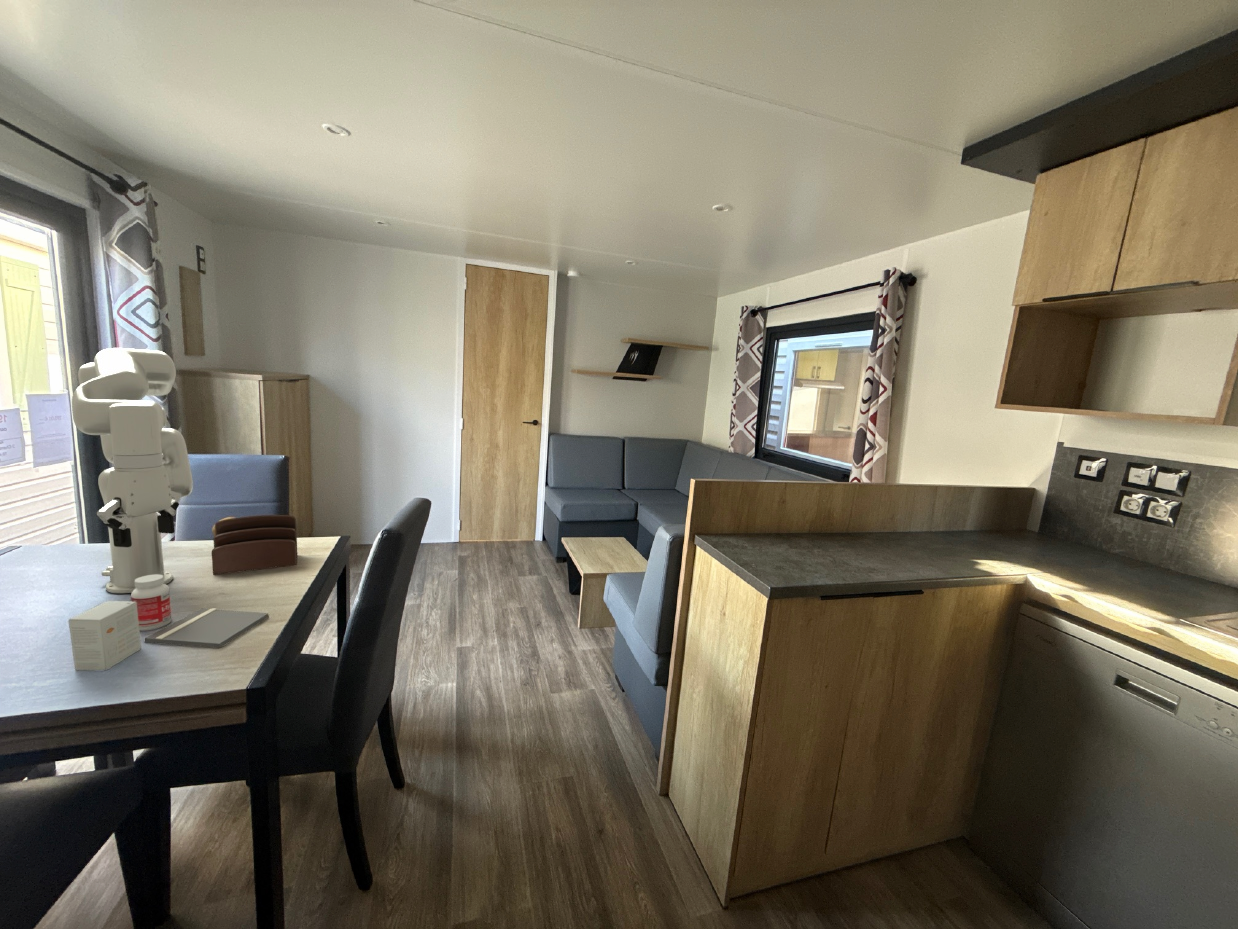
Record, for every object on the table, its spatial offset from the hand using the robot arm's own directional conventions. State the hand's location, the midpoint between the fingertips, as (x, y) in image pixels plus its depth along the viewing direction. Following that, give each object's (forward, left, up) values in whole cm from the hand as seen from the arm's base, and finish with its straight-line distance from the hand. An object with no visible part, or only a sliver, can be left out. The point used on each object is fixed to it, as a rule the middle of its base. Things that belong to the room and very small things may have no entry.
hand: (145, 539), depth 107 cm
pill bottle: (0, 0, -20) cm, 20 cm away
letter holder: (-5, +37, -20) cm, 43 cm away
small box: (+4, -13, -20) cm, 25 cm away
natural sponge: (-22, +49, -20) cm, 58 cm away
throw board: (+13, 0, -20) cm, 24 cm away
